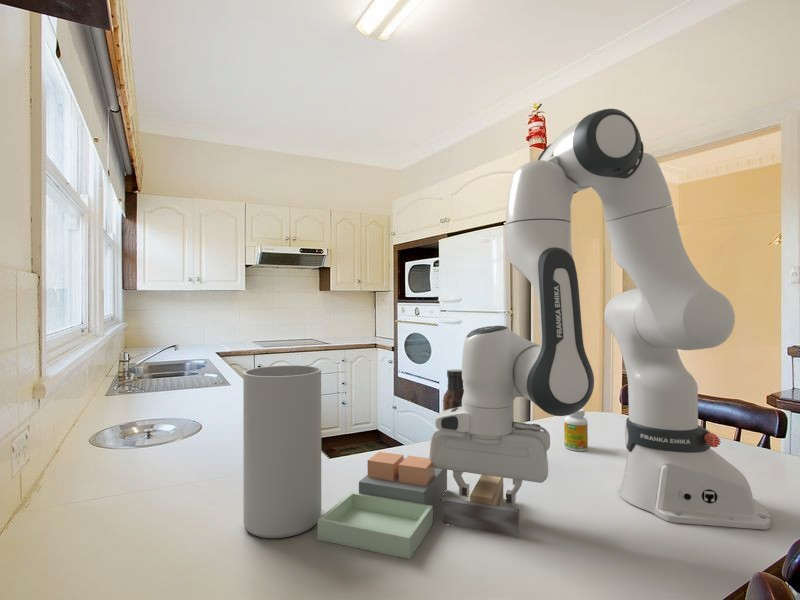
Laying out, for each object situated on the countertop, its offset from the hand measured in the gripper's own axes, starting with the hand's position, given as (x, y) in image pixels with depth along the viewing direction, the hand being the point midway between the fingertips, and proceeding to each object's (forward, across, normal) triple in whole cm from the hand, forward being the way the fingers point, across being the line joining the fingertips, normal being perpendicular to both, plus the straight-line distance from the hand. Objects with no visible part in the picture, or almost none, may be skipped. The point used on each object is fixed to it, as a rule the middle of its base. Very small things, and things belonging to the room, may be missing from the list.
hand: (487, 499), depth 79 cm
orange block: (-3, +18, +3) cm, 18 cm away
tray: (+2, +15, +13) cm, 20 cm away
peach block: (-3, +12, +3) cm, 13 cm away
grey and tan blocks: (+2, 0, 0) cm, 2 cm away
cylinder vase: (+2, +31, +16) cm, 35 cm away
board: (+2, +15, +1) cm, 15 cm away
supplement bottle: (+2, -14, -42) cm, 44 cm away
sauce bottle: (+2, +13, -28) cm, 31 cm away
